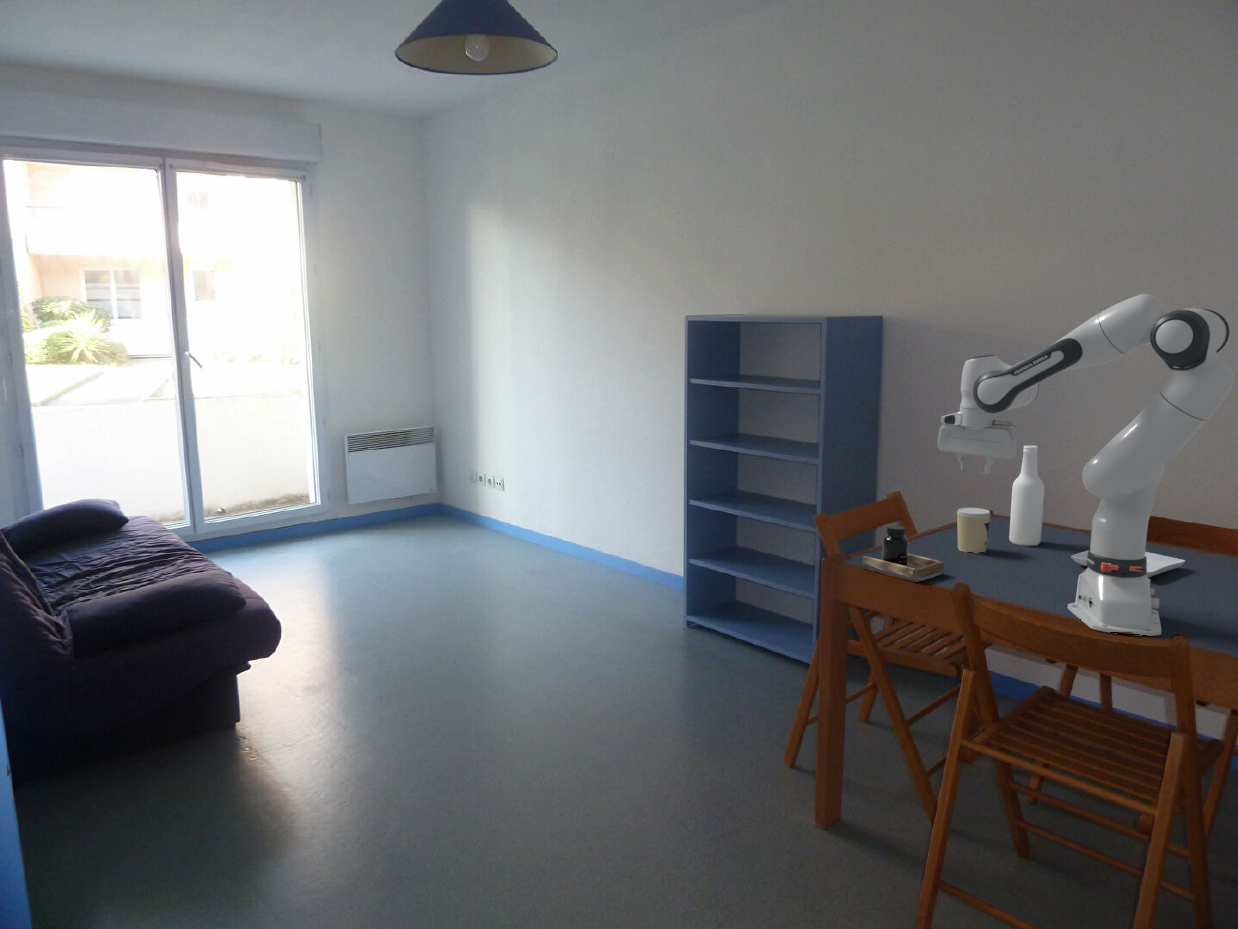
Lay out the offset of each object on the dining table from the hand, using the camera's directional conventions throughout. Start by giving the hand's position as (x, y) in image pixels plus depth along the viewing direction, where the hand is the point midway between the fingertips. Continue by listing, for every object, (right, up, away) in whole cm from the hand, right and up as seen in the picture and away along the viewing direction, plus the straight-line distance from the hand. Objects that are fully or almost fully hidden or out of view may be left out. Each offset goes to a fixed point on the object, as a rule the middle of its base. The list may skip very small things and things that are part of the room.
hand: (974, 472), depth 225 cm
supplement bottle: (-16, -27, +16) cm, 35 cm away
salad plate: (+48, -27, +15) cm, 57 cm away
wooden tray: (-14, -27, +14) cm, 34 cm away
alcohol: (+32, -22, +42) cm, 58 cm away
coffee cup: (+13, -24, +35) cm, 44 cm away
